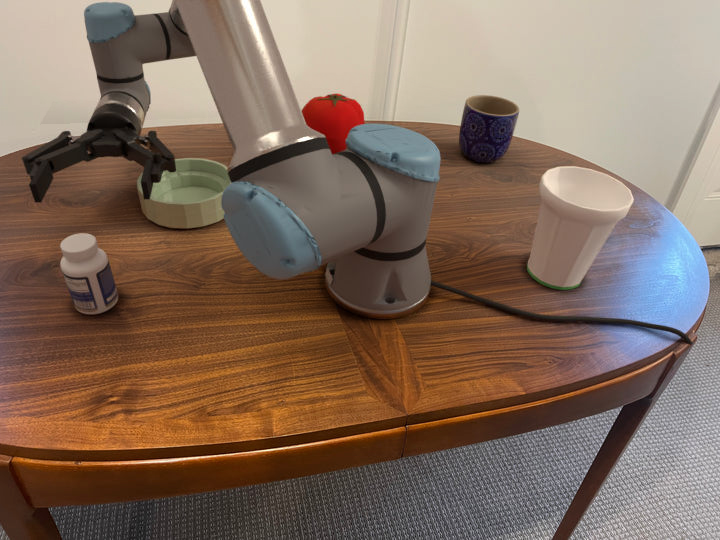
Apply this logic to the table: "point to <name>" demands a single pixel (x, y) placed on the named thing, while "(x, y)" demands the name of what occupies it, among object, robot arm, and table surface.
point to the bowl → (187, 194)
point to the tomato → (333, 118)
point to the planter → (487, 127)
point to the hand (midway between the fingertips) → (91, 192)
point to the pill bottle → (88, 274)
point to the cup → (574, 223)
